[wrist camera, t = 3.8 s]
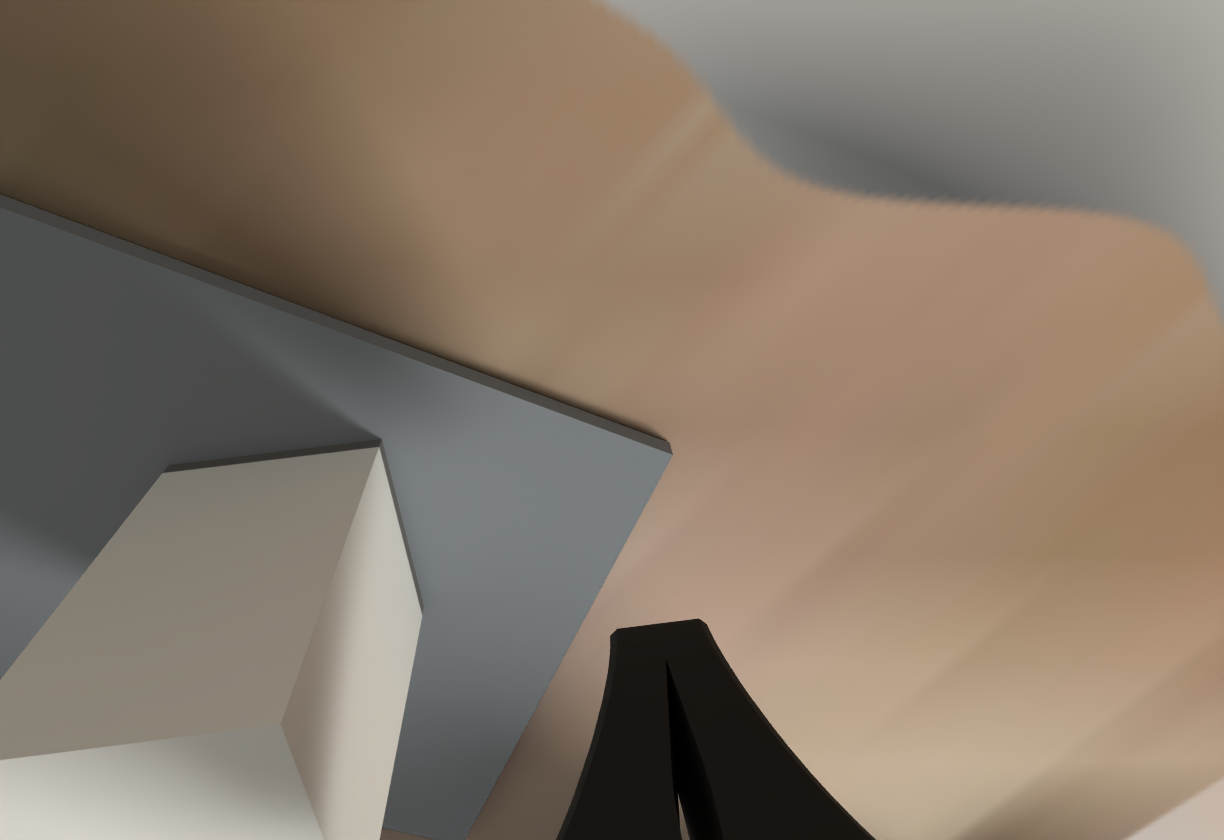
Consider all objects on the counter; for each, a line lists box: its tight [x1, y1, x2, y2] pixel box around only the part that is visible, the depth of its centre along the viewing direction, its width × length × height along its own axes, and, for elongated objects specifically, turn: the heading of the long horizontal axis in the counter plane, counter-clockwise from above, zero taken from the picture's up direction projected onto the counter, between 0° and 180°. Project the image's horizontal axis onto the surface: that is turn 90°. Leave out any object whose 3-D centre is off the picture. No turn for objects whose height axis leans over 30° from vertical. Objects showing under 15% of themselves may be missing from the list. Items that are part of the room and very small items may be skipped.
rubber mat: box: [0, 194, 673, 840], centre depth 17 cm, size 16×12×1 cm
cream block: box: [0, 439, 424, 840], centre depth 14 cm, size 4×4×7 cm
